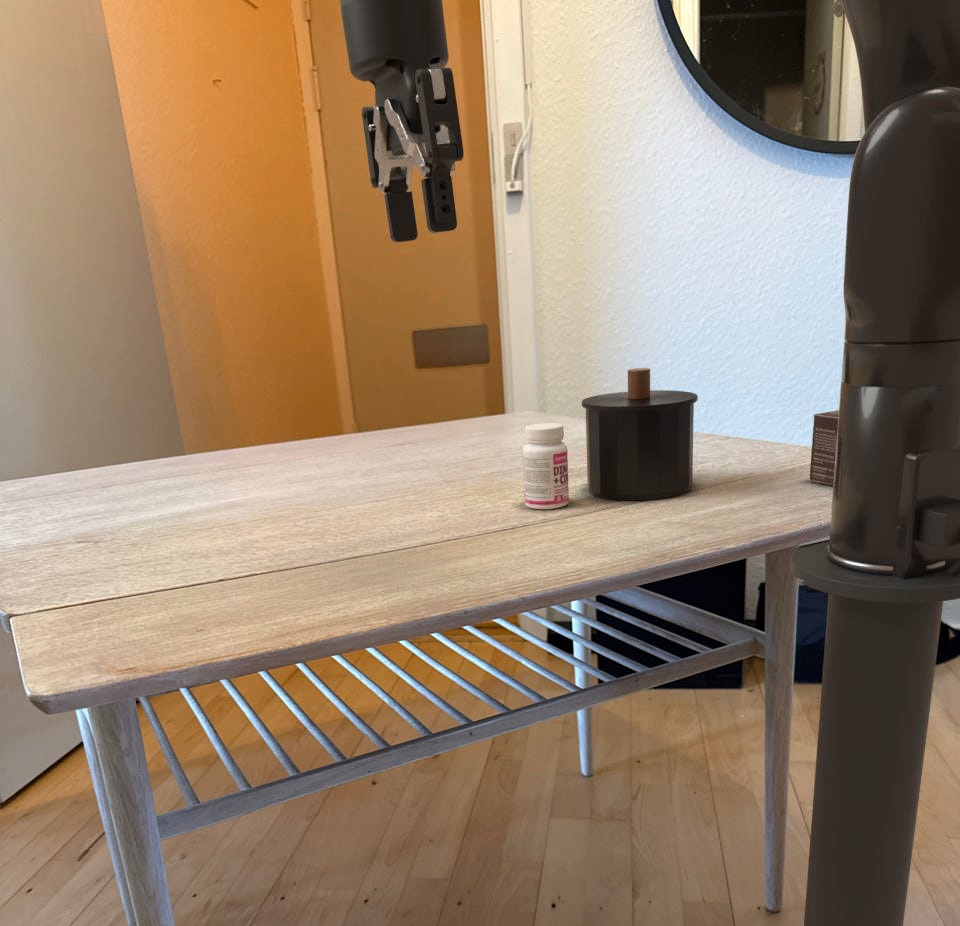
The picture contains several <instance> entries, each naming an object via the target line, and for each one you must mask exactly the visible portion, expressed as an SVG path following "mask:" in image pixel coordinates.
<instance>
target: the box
mask: <svg viewBox="0 0 960 926" xmlns="http://www.w3.org/2000/svg"><path fill="white" fill-rule="evenodd" d="M838 416H839V409H838V410H832V411H825V412H821V413H815V414H813V426H812V441H811V452H810V456H811V457H810V468H809V469H810V470H809V480H810V482H812V483H816V484H824V485H829V486H833V483H834V470H835V456H836V443H837V429H838Z"/></svg>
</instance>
